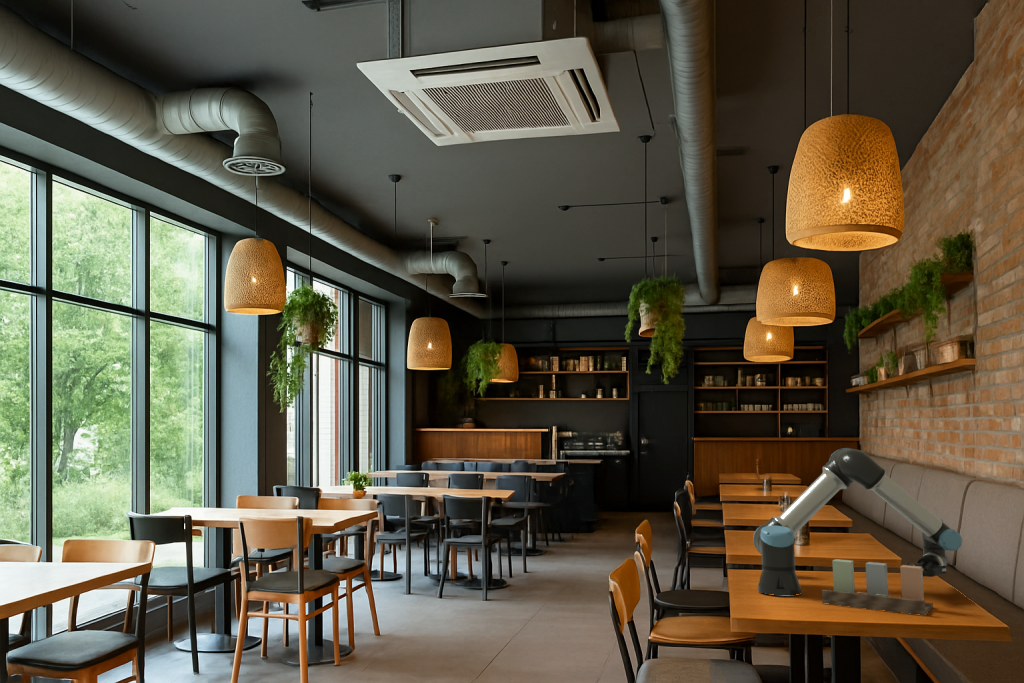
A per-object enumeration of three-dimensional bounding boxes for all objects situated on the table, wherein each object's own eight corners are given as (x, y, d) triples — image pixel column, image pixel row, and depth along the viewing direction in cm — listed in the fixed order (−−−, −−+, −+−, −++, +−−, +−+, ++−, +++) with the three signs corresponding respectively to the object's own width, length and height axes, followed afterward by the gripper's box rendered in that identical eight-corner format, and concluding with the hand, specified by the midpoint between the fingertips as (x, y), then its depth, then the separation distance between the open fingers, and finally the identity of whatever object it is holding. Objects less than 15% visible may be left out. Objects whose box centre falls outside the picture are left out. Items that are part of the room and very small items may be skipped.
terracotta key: (902, 603, 271) (900, 566, 272) (904, 601, 275) (902, 565, 276) (922, 605, 268) (919, 568, 269) (924, 603, 271) (922, 566, 272)
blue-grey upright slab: (867, 599, 278) (865, 563, 279) (870, 597, 281) (868, 562, 282) (886, 601, 274) (884, 565, 275) (888, 599, 277) (886, 563, 279)
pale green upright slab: (834, 595, 284) (832, 560, 286) (837, 593, 288) (835, 559, 289) (852, 597, 281) (850, 562, 282) (855, 595, 284) (853, 560, 285)
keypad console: (822, 603, 280) (821, 588, 280) (833, 596, 291) (833, 581, 291) (924, 616, 261) (924, 599, 261) (932, 607, 272) (931, 592, 273)
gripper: (950, 577, 293) (939, 588, 274) (911, 573, 301) (897, 584, 282) (949, 555, 294) (938, 565, 275) (910, 553, 302) (896, 562, 283)
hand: (917, 575), depth 279 cm, fingers closed
